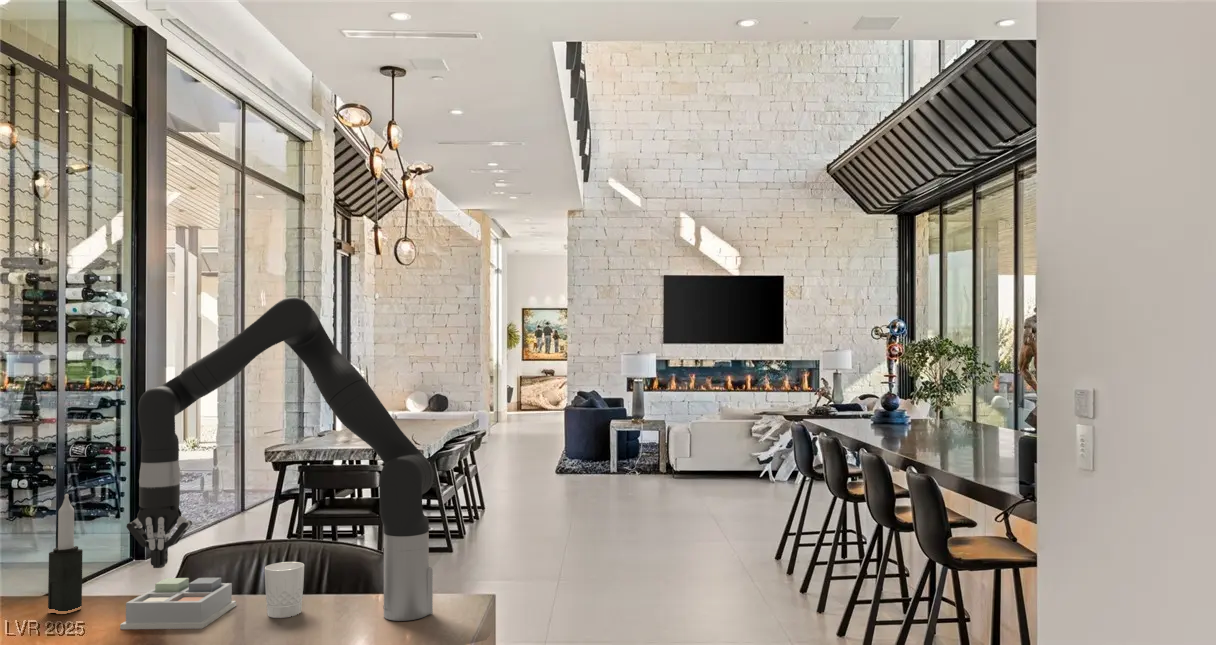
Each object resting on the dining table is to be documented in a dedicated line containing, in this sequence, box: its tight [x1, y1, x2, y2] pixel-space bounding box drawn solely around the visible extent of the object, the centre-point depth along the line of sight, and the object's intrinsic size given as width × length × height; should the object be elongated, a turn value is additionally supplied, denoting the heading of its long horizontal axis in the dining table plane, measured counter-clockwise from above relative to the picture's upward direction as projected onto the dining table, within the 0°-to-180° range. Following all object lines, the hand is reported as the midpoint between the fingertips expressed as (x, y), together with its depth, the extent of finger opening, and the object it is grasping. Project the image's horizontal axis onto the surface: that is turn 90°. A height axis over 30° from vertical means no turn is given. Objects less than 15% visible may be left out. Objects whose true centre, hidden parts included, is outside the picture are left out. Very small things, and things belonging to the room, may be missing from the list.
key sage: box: [154, 577, 190, 592], centre depth 190 cm, size 5×5×3 cm
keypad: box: [119, 582, 237, 630], centre depth 186 cm, size 16×16×5 cm
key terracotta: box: [178, 597, 204, 601], centre depth 183 cm, size 5×5×3 cm
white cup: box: [264, 561, 305, 619], centre depth 188 cm, size 8×8×10 cm
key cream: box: [143, 597, 170, 602], centre depth 183 cm, size 5×5×3 cm
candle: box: [47, 493, 84, 611], centre depth 192 cm, size 5×5×25 cm
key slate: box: [189, 577, 222, 592], centre depth 190 cm, size 5×5×3 cm
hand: (159, 567), depth 184 cm, fingers closed
